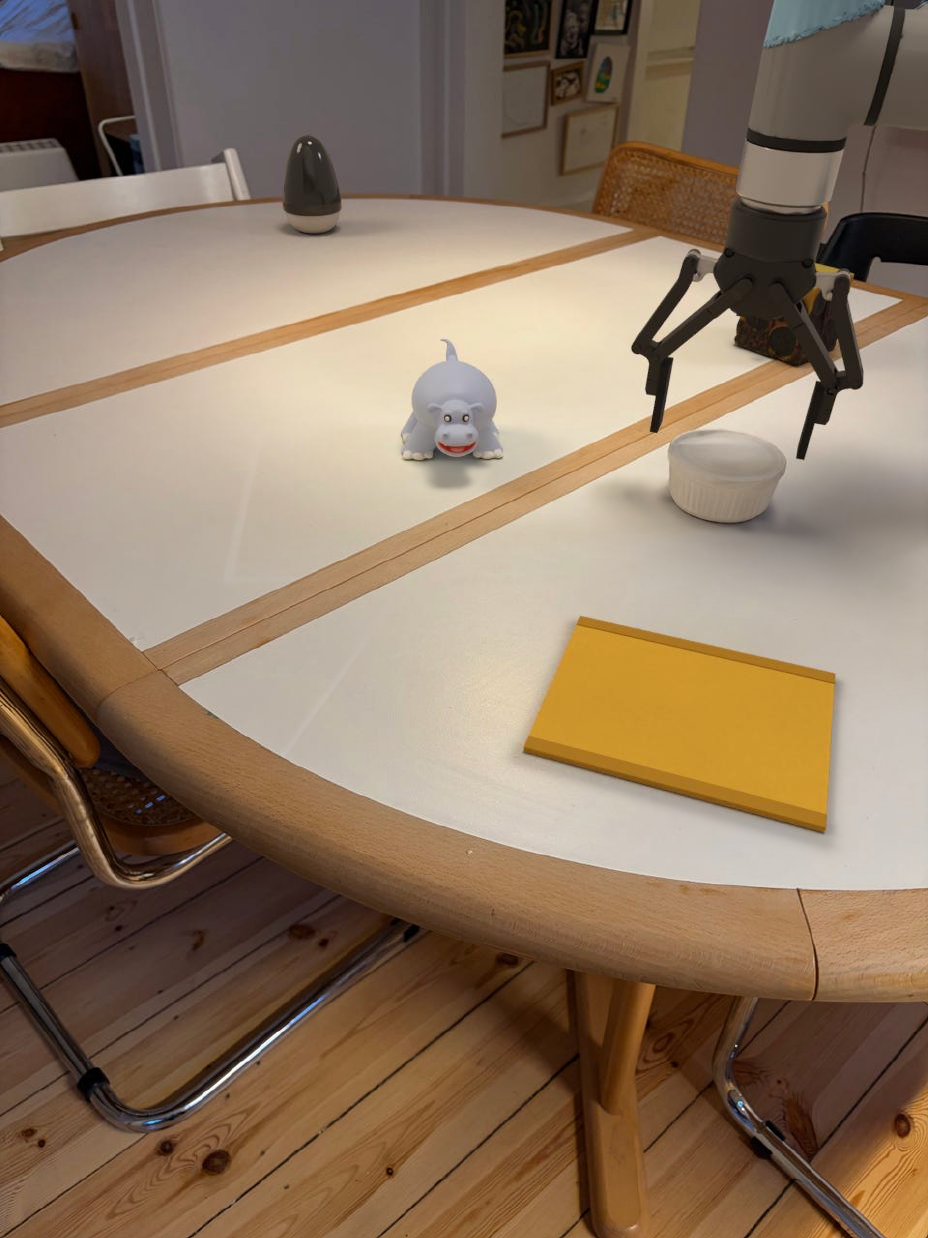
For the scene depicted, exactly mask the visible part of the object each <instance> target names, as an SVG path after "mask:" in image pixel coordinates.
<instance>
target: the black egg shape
mask: <svg viewBox="0 0 928 1238" xmlns="http://www.w3.org/2000/svg"><path fill="white" fill-rule="evenodd" d="M342 209H343V204H342V196H341V190H340V186H339V182H338V178H337V174H336V171H335V168H334V164H333V162H332V159H331V156H330V153H329V152H328V150H327V148H326V146H325V145H324V143H323V142H322V140H320V139H319V138H318V137H316V136H315V135H313V134H311V133H308V134H302V135H299V136H298V137H297V138H296V139H295V140H294V141H293V143H292V145H291V147H290V150H289V152H288V155H287V160H286V163H285V170H284V176H283V185H282V210H283V211H284V212H285V216H286V218H287V221H288V222H289V224H290V225H291V226H292V228H294V229H295V230H297V231H299V232H301V233H303V234H312V235H313V234H315V235H316V234H322V233H323V234H324V233H326V232H329V231H330V230H332V229H333V228H334V227H336V226H335V225H337V224H338V221H339V219H340V214H341V211H342Z"/></svg>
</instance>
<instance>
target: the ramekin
mask: <svg viewBox="0 0 928 1238" xmlns="http://www.w3.org/2000/svg"><path fill="white" fill-rule="evenodd" d="M667 460H668V491H669V494H670V496H671V498H672V500H673V501H674V503H675V504H676V505H677V507H679V508H680V509H681V510H682V511H684V512H686V513H687V514H689V515H691V516H694V517H696V518H699V519H702V520H706V521H710V522H716V523H724V524H725V523H727V524H729V523H730V524H731V523H732V524H733V523H741V522H746V521H750V520H752V519H754V518H756V517H757V516H759V515H761V514H762V513H763V512H764V511H766V509H767V508H768V506H769V505H770V502H771V500H772V499H773V496H774V493H775V491H776V489H777V487H778V485H779V482H780V480H781V479H782V478H783V477H784V475H785V472H786V469H787V459H786V456H785V454H784V452H783V451H782V450H781V449H780V448H779V447H778V446H777V445H776V444H774V443H772V442H770V441H768V440H767V439H764V438H763V437H760V436H757V435H754V434H751V433H747V432H744V431H739V430H735V429H725V428H701V429H699V428H698V429H692V430H688V431H685V432H683V433H680V434H678V435H676V436H675V437H673V439H672V440H671V441H670V442H669V444H668V447H667Z"/></svg>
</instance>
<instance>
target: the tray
mask: <svg viewBox="0 0 928 1238" xmlns="http://www.w3.org/2000/svg"><path fill="white" fill-rule="evenodd" d="M836 675H837V674H836V673H835V672H831V671H827V670H822V669H818V668H813V667H809V666H804V665H800V664H797V663H796V664H795V663H792V662H787V661H784V660H783V661H782V660H778V659H774V658H769V657H765V656H760V655H757V654H756V655H755V654H752V653H747V652H743V651H738V650H734V649H730V648H724V647H720V646H716V645H713V644H712V645H711V644H707V643H703V642H700V641H699V642H698V641H694V640H690V639H685V638H682V637H676V636H671V635H668V634H663V633H659V632H654V631H650V630H646V629H641V628H637V627H632V626H628V625H624V624H619V623H614V622H610V621H605V620H601V619H598V618H597V619H596V618H592V617H588V616H583V615H579V617H578V620H577V622H576V625H575V628H574V629H573V632H572V634H571V636H570V639H569V641H568V643H567V646H566V648H565V651H564V653H563V655H562V657H561V660H560V661H559V665H558V667H557V668H556V671H555V673H554V675H553V678H552V680H551V683H550V685H549V688H548V690H547V692H546V695H545V696H544V698H543V701H542V704H541V706H540V707H539V710H538V713H537V714H536V718H535V720H534V722H533V725H532V727H531V730H530V731H529V734H528V735H527V737H526V739H525V742H524V745H523V748H522V752H523V753H526V754H531V755H535V756H539V757H543V758H546V759H549V760H554V761H557V762H561V763H565V764H568V765H571V766H575V767H579V768H583V769H587V770H591V771H594V772H598V773H600V774H601V773H602V774H604V775H608V776H612V777H617V778H619V779H623V780H627V781H631V782H635V783H639V784H642V785H646V786H650V787H653V788H657V789H661V790H666V791H667V792H672V793H676V794H679V795H684V796H686V797H691V798H694V799H698V800H702V801H704V802H709V803H714V804H717V805H720V806H724V807H728V808H730V809H731V808H732V809H736V810H739V811H743V812H747V813H751V814H754V815H757V816H762V817H765V818H769V819H773V820H777V821H780V822H784V823H787V824H791V825H795V826H798V827H802V828H805V829H806V828H807V829H810V830H813V831H817V832H820V833H825V832H826V829H827V822H828V821H827V820H828V814H827V813H828V798H829V785H830V783H829V782H830V781H829V780H830V767H831V751H832V733H833V719H834V717H833V716H834V704H835V703H834V701H835V686H836Z"/></svg>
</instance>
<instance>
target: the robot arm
mask: <svg viewBox="0 0 928 1238" xmlns="http://www.w3.org/2000/svg"><path fill="white" fill-rule="evenodd" d="M885 3H886V0H773V4H772V7H771V12H770V16H769V20H768V24H767V29H766V33H765V36H764V37H765V38H764V40H763V45H762V49H761V54H760V60H759V66H758V71H757V77H756V83H755V88H754V93H753V97H752V104H751V109H750V114H749V120H748V127H747V131H746V137H745V138H744V143H743V148H742V153H741V159H740V164H739V168H738V174H737V178H736V179H737V180H736V185H735V191H736V193H737V195H739V196H740V197H738V198H736V200H735V201H734V202H732V206H731V210H730V214H729V220H728V225H727V231H726V235H725V241H724V246H723V250H722V253H721V254H720V256H719V257H718V258H715V257H712V256H708V255H704V254H702V253H701V251H700V250H699V249H698V248H691V249H689V251H688V252H687V254H686V255H685V257H684V258H683V261H682V264H681V267H680V271H679V274H678V276H677V279H676V281H675V282H674V283H673V284H672V286H671V288H670V289H669V290H668V292H667V293H666V295H665V296H664V297H663V298H662V300H661V302H660V303H659V304H658V306H657V307H656V309H655V310H654V311H653V313H652V314H651V316H650V317H649V319H648V320H647V321H646V323H645V325H644V326H643V327H642V328H641V330H640V331H639V332H638V334H637V335H636V337H635V339H634V341H633V342H632V344H631V346H630V351H631V352H632V353H633V354H634V355H641V356H642V357H644V358H646V360H647V361H648V368H647V374H646V381H645V387H644V390H645V395H647V396H653V397H655V398H654V403H653V409H652V415H651V420H650V426H649V433H654V434H658V433H659V430H660V429H661V426H662V424H663V420H664V415H665V409H666V404H667V397H668V392H669V387H670V381H671V375H672V370H673V365H674V359H675V357H674V356H673V357H672V356H671V355H672V354H674V352H676V351H677V350H678V349H679V348H681V347H682V346H683V345H684V344H686V343H688V341H689V340H690V339H692V338H693V337H694V336H695V335H697V334H698V333H699V332H700V331H701V330H703V329H704V328H705V327H706V326H707V325H709V324H710V323H711V322H713V321H714V320H716V319H718V318H719V317H720V316H721V315H723V314H724V313H725V312H727V311H728V310H730V311H731V312H732V313H733V314H735V316H736V317H739V318H740V317H752V316H755V317H758V318H760V319H762V320H767V321H773V319H778V318H780V317H782V316H783V318H784V320H785V322H786V323H787V325H788V327H789V329H790V330H792V331H793V333H794V335H795V337H796V339H797V340H798V342H799V344H800V346H801V347H802V349H803V351H804V353H805V355H806V356H807V358H808V360H809V361H808V362H809V363H810V365H811V367H812V368H813V371H814V373H815V374H816V376H817V378H818V380H815V383H814V386H813V391H812V393H811V397H810V401H809V405H808V408H807V412H806V415H805V419H804V423H803V427H802V429H801V433H800V436H799V441H798V444H797V449H796V456H795V459H796V460H801V461H805V459H806V455H807V452H808V448H809V445H810V442H811V438H812V435H813V431H814V427H815V424H816V425H822V426H827V424H828V423H829V422H830V420H831V416H832V413H833V409H834V406H835V403H836V399H837V396H838V394H839V393H840V392H841V391H844V390H849V389H850V390H853V391H856V390H857V391H858V390H860V389H861V388H862V387H863V385H864V378H865V377H864V376H865V375H864V374H865V373H864V367H863V362H862V357H861V354H860V353H861V352H860V349H859V348H860V347H859V344H858V339H857V335H856V330H855V325H854V321H853V317H852V312H851V307H850V303H849V298H848V297H849V294H848V292H849V285H850V273H851V272H850V270H849V269H848V268H844V267H842V268H839V269H840V270H838V271H837V272H836V273H833V272H817V271H816V268H815V263H816V260H817V258H818V257H817V256H818V252H819V249H820V245H821V242H822V237H823V233H824V230H825V226H826V222H827V217H828V212H827V211H826V208H825V207H824V205H826V204H828V203H829V202H830V201H832V197H833V194H834V189H835V186H836V182H837V179H838V175H839V171H840V167H841V163H842V159H843V155H844V151H845V147H846V143H847V139H848V134H849V130H850V128H851V126H852V125H862V126H865V127H866V126H867V127H874V126H879V127H887V128H897V129H906V130H916V131H923V132H924V131H926V132H928V0H927V1H925V2H923V3H921V5H918V7H916V8H914V9H905V8H904V7H895V6H894V5H887V4H885ZM708 274H713V278H714V280H715V282H716V284H717V286H718V288H719V290H718V291H717V292H716V293H715V294H713V295H712V296H711V297H710V299H709V300H707V301H706V302H705V303H704V304H703V305H701V306H700V307H699V308H698V309H697V310H695V311H694V312H693V313H692V314H691V315H689V316H688V317H687V318H686V319H685V320H683V321H682V322H681V323H680V324H679V325H678V326H677V327H675V328H674V329H672V330H671V331H670V332H669V333H668V334H667V335H665V336H664V337H662V339H660V341H657V340H654V338H655V336H656V335H657V333H658V332H659V331H660V330H661V328H662V327H663V325H664V324H665V322H666V321H667V320H668V318H670V316H671V314H672V313H673V312H674V310H675V309H676V307H677V306H678V305H679V303H680V302H681V300H682V299H683V298H684V296H685V295H686V293H687V292H688V291H689V289H690V287H691V285H692V283H693V282H694V283H699V282H701V281H702V280H703V279H704V277H705V276H706V275H708ZM814 287H817V288H819V289H820V290H821V291H822V296H823V298H824V299H825V300H828V301H832V302H831V310H832V316H833V320H834V324H835V329H836V333H837V338H838V339H837V341H838V347H839V351H840V355H841V359H842V364H843V368H844V370H839V369H838V367H837V366H836V365H835V362H834V360H833V358H832V357H831V354H830V353H829V351H827V349H826V348H825V346H824V344H823V342H822V340H821V338H820V337H819V335H818V333H817V331H816V329H815V328H814V326H813V324H812V322H811V320H810V318H809V317H808V315H807V312H806V309H805V307H804V305H803V303H802V301H801V300H802V299H803V298H804V297H805V296H806V295H807V294H809V293H810V292H811V291H812V290H813V289H814ZM849 293H850V292H849Z"/></svg>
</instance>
